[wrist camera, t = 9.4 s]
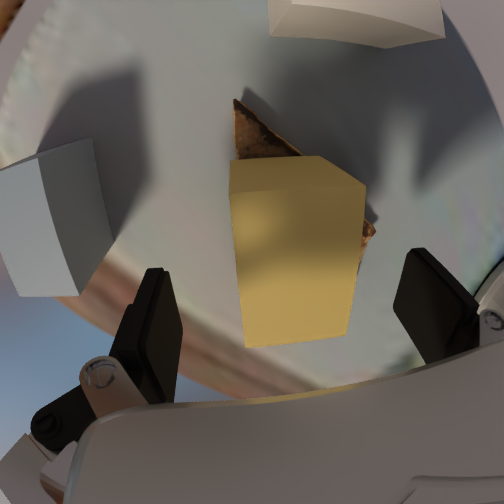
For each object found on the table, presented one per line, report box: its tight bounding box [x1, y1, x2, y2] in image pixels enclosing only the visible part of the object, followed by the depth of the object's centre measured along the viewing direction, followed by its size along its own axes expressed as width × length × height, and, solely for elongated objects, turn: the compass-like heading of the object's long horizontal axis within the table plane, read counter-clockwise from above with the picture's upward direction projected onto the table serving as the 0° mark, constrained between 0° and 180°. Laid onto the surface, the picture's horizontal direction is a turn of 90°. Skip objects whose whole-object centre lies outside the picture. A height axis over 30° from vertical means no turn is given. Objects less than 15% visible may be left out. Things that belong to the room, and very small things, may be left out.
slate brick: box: [0, 137, 114, 297], centre depth 11 cm, size 6×4×5 cm, turn 3°
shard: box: [233, 99, 376, 272], centre depth 14 cm, size 11×8×2 cm
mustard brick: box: [229, 156, 366, 348], centre depth 11 cm, size 6×4×5 cm, turn 4°
